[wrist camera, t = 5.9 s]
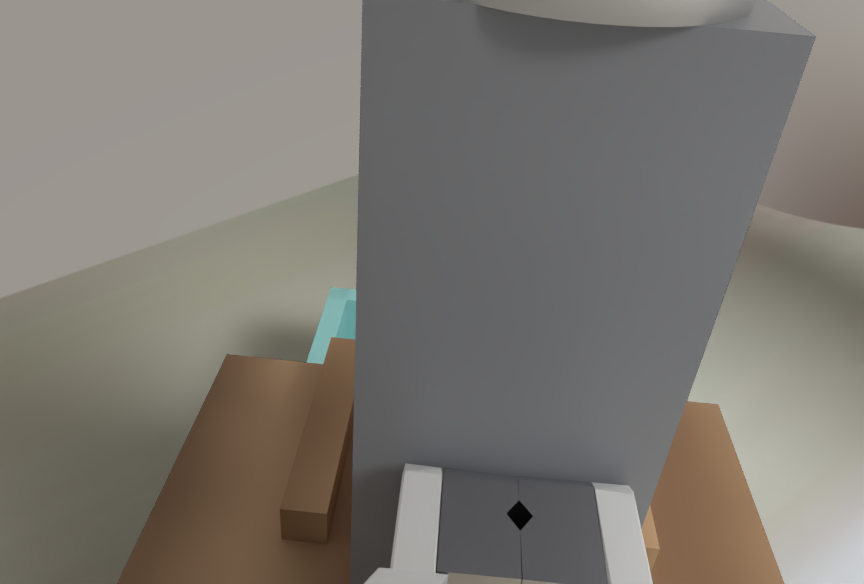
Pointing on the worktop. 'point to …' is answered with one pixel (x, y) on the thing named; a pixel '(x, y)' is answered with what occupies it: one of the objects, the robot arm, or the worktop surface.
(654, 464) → the dome-capped grey pillar
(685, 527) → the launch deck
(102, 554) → the worktop surface
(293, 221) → the worktop surface
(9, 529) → the worktop surface
